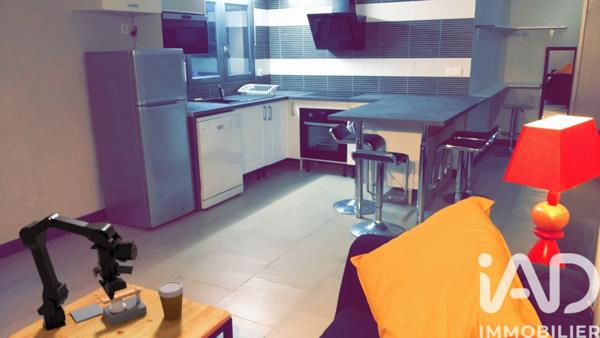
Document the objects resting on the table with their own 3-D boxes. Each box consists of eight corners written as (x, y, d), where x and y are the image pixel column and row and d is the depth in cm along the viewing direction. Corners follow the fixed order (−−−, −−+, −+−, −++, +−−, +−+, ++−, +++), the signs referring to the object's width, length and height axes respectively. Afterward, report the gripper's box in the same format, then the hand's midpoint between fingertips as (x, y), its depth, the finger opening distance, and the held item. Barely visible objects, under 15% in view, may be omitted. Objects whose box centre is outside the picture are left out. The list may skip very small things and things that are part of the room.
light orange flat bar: (103, 304, 170) (103, 301, 170) (101, 302, 172) (101, 299, 172) (142, 292, 179) (141, 289, 179) (139, 289, 181) (139, 286, 181)
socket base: (112, 325, 170) (110, 308, 168) (103, 314, 178) (101, 297, 176) (146, 313, 178) (145, 296, 176) (137, 302, 186) (135, 286, 184)
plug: (113, 322, 172) (111, 305, 170) (107, 315, 177) (105, 299, 175) (129, 316, 176) (127, 300, 174) (123, 310, 180) (121, 293, 179)
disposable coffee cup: (158, 312, 179) (155, 283, 176) (183, 306, 183) (181, 278, 180) (162, 324, 170) (159, 295, 167) (188, 318, 174) (186, 289, 171)
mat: (76, 323, 172) (76, 321, 172) (70, 312, 179) (69, 311, 179) (104, 313, 178) (104, 312, 178) (97, 303, 185) (96, 302, 185)
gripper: (139, 261, 162) (143, 302, 166) (120, 245, 176) (124, 282, 180) (106, 271, 155) (111, 313, 159) (89, 253, 169) (94, 292, 173)
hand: (111, 299), depth 168 cm, fingers closed
